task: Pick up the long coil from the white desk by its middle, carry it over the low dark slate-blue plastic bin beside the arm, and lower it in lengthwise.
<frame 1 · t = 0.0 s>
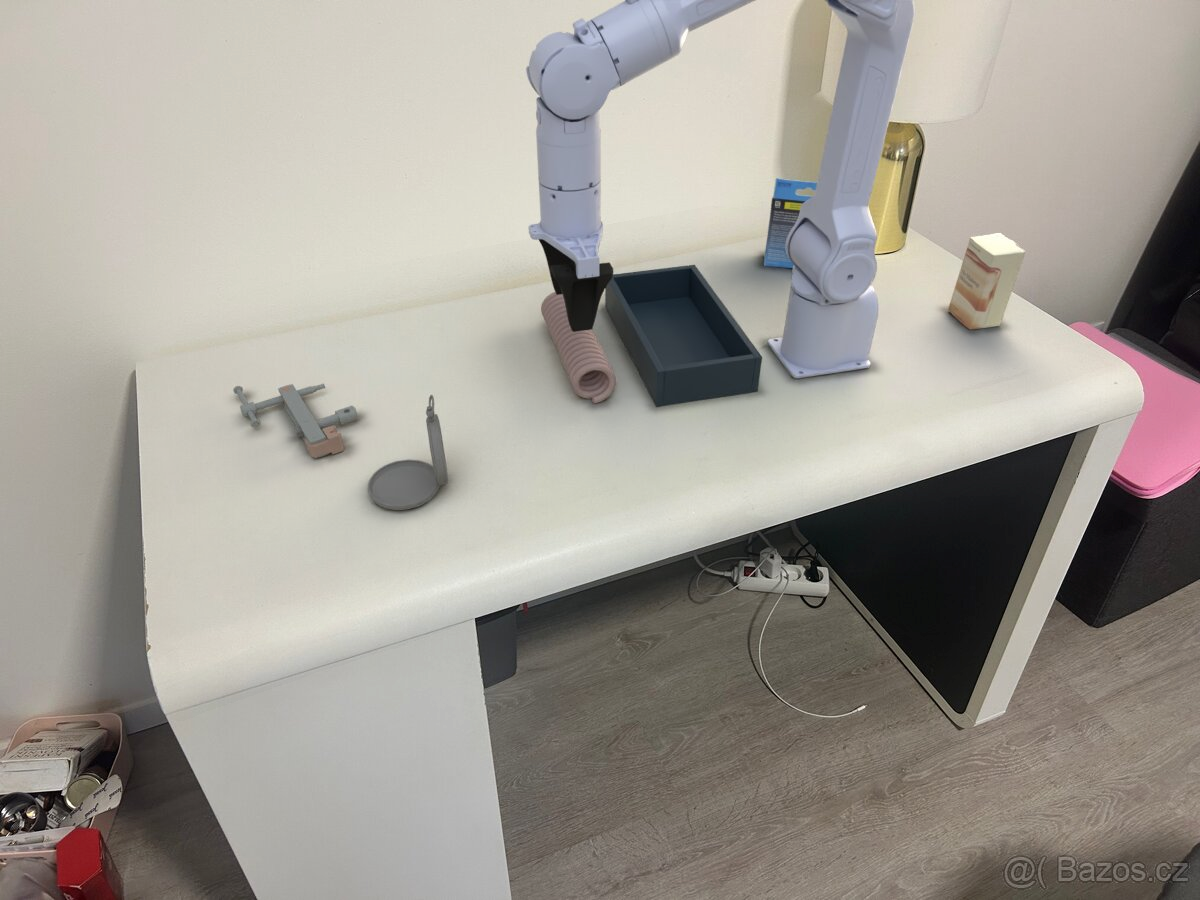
hand: (573, 310, 86), 10 cm above the table, tool pointing down, fingers open, 7 cm apart
clamp: (301, 421, 89), on the table
bin: (675, 346, 100), on the table
pocket watch: (418, 490, 80), on the table
coil: (576, 361, 97), on the table
label tape box: (796, 265, 116), on the table
printed cream carton: (972, 320, 104), on the table
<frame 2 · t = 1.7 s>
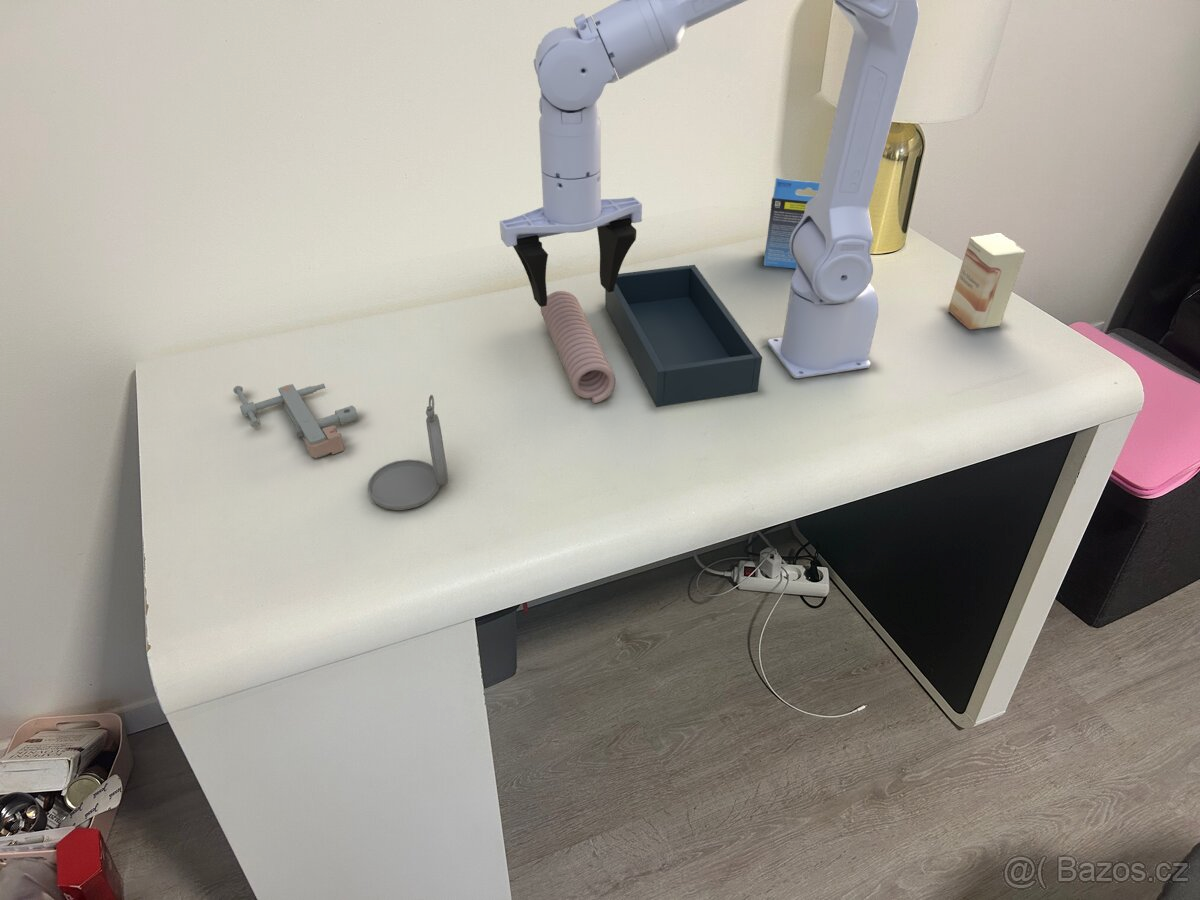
hand: (574, 294, 90), 10 cm above the table, tool pointing down, fingers open, 7 cm apart
nothing on the table moved.
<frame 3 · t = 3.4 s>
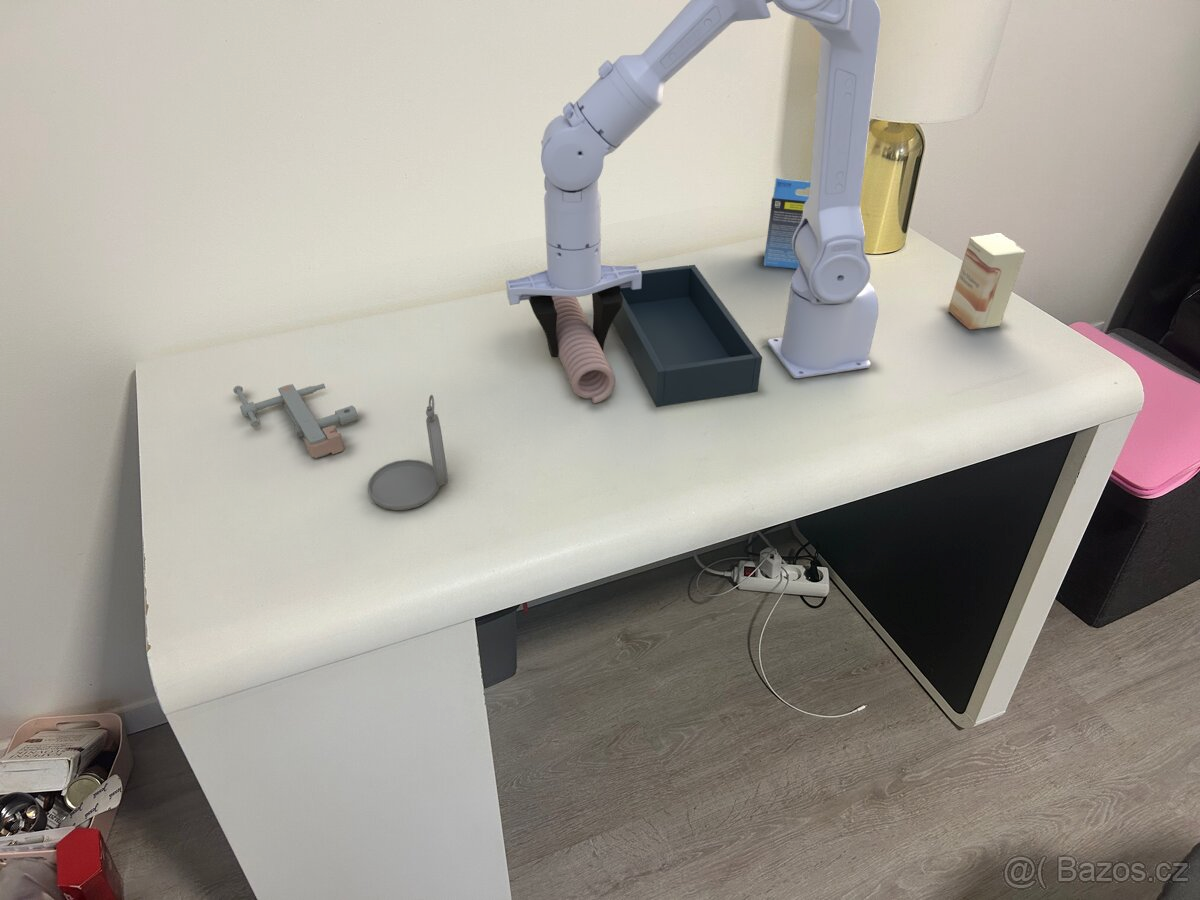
hand: (576, 349, 96), 1 cm above the table, tool pointing down, fingers closed on coil, 5 cm apart
coil: (576, 361, 97), on the table, touching gripper
everything else where it was.
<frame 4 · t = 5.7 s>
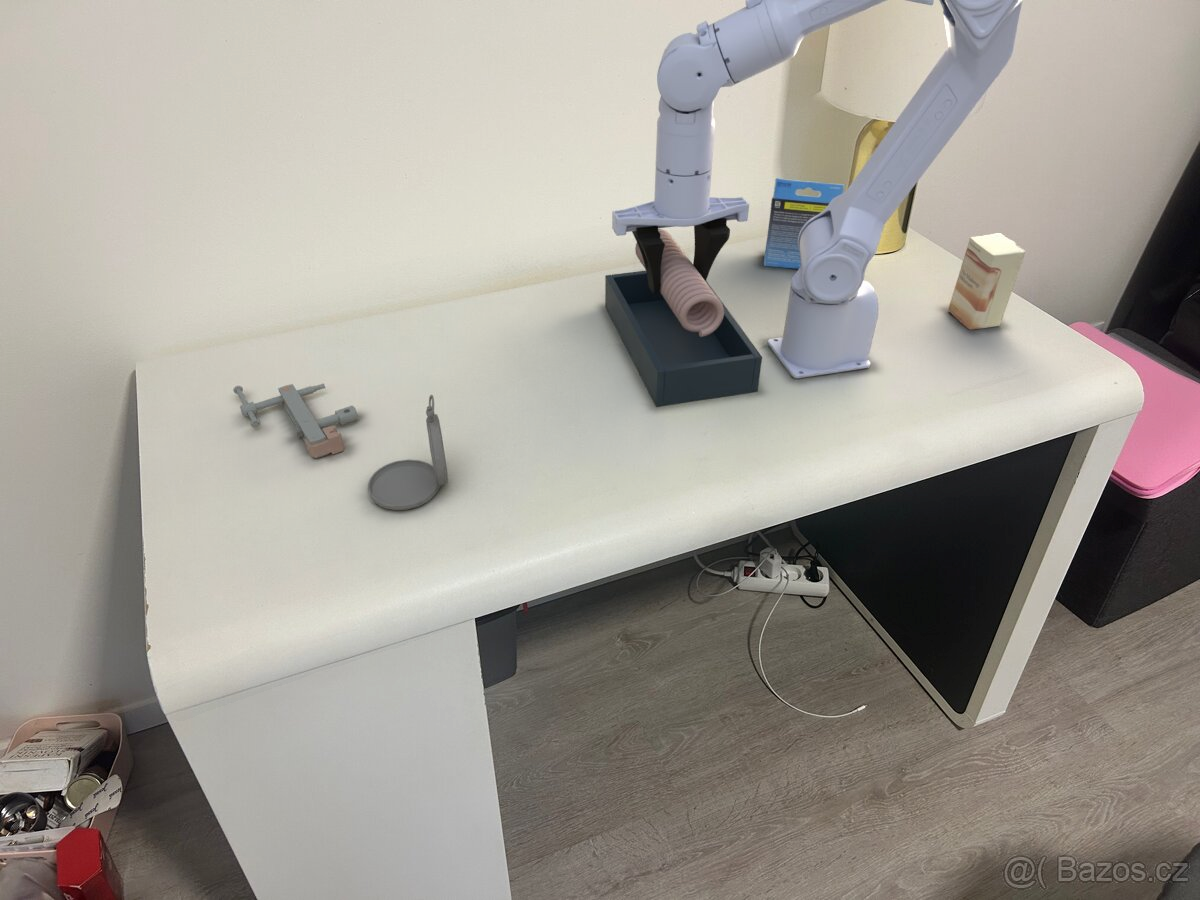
hand: (676, 286, 94), 8 cm above the table, tool pointing down, fingers closed on coil, 4 cm apart
coil: (675, 299, 95), point 6 cm above the table, touching gripper
everything else where it was.
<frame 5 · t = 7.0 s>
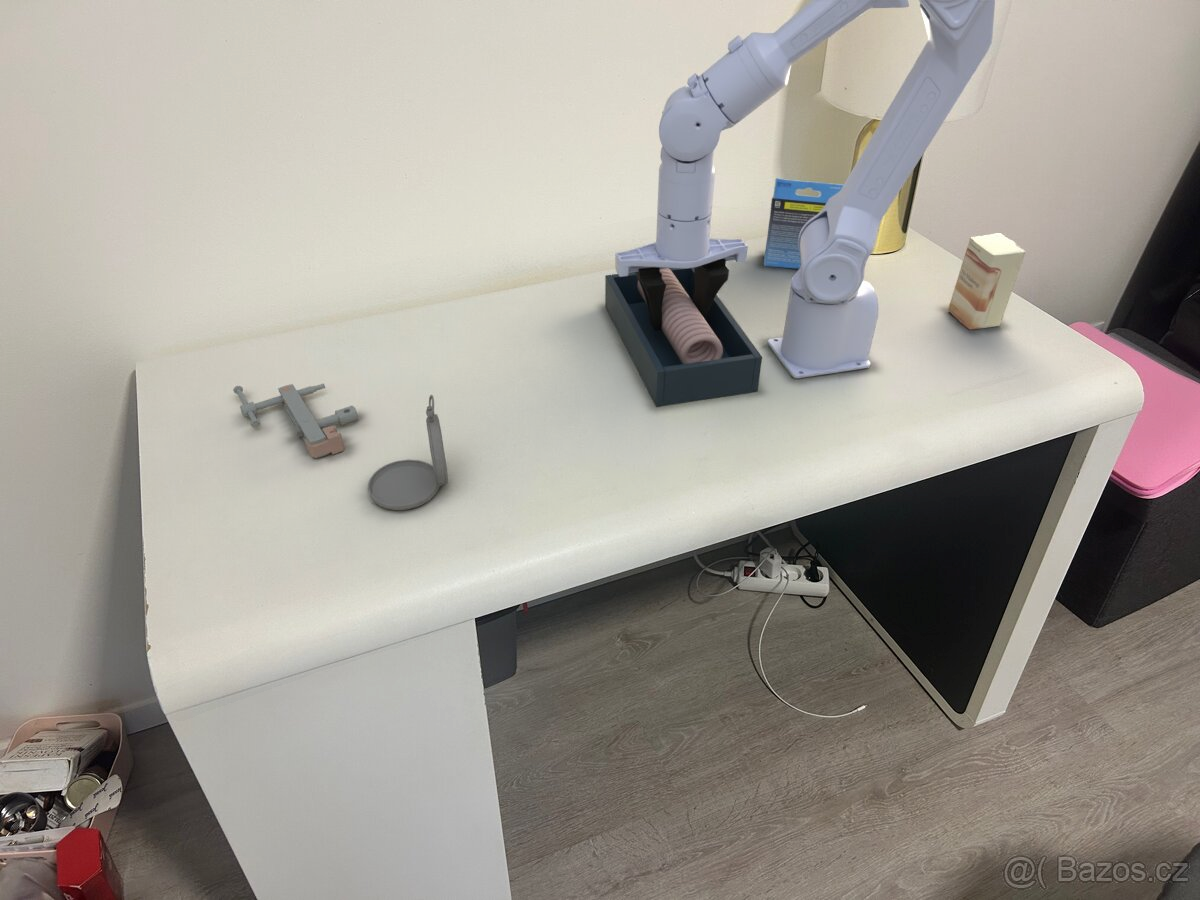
hand: (677, 323, 98), 3 cm above the table, tool pointing down, fingers closed on coil, 4 cm apart
coil: (676, 335, 99), point 2 cm above the table, touching gripper
everything else where it was.
when the fingers open (2 cm above the table, at t = 7.9 s): coil stays where it is, resting on bin.
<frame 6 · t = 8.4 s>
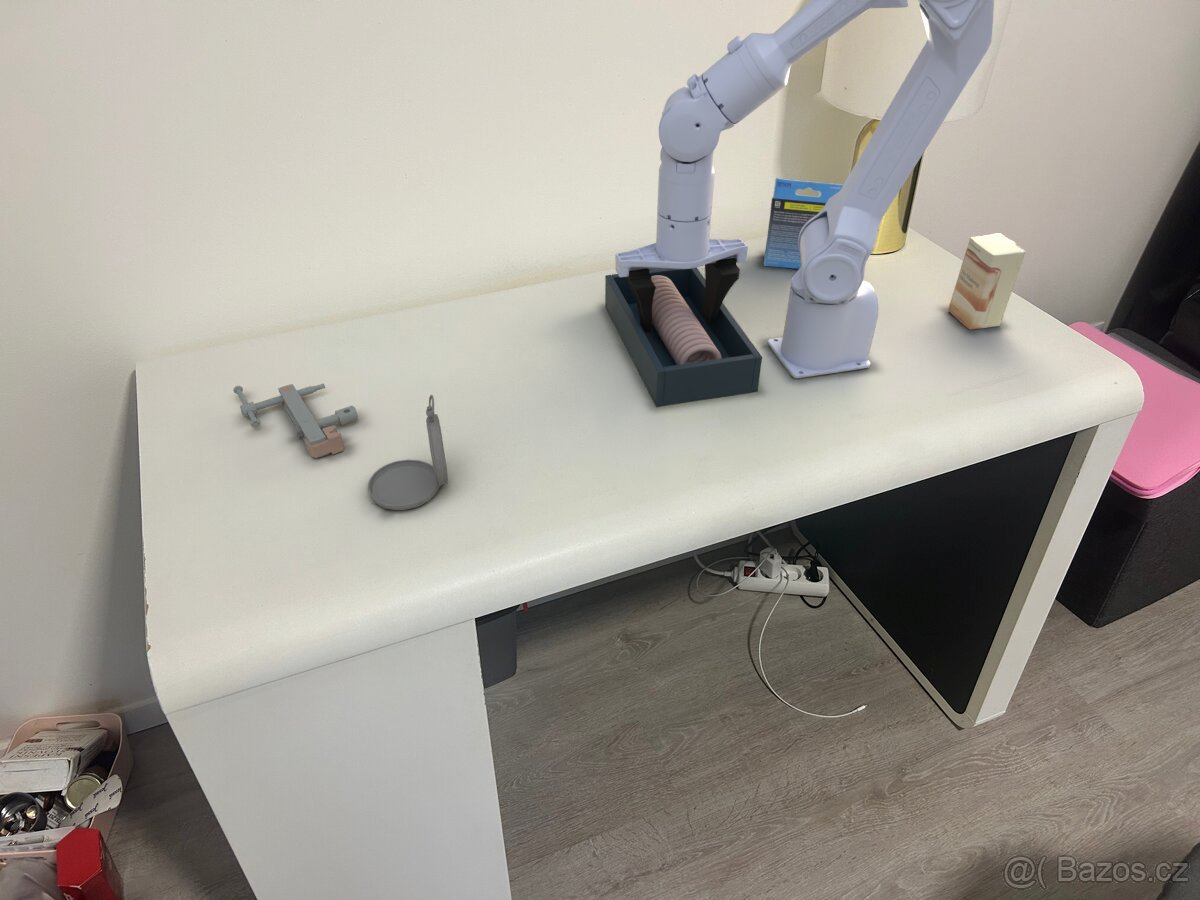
hand: (677, 323, 98), 3 cm above the table, tool pointing down, fingers open, 7 cm apart
coil: (675, 344, 99), resting on bin
everything else where it was.
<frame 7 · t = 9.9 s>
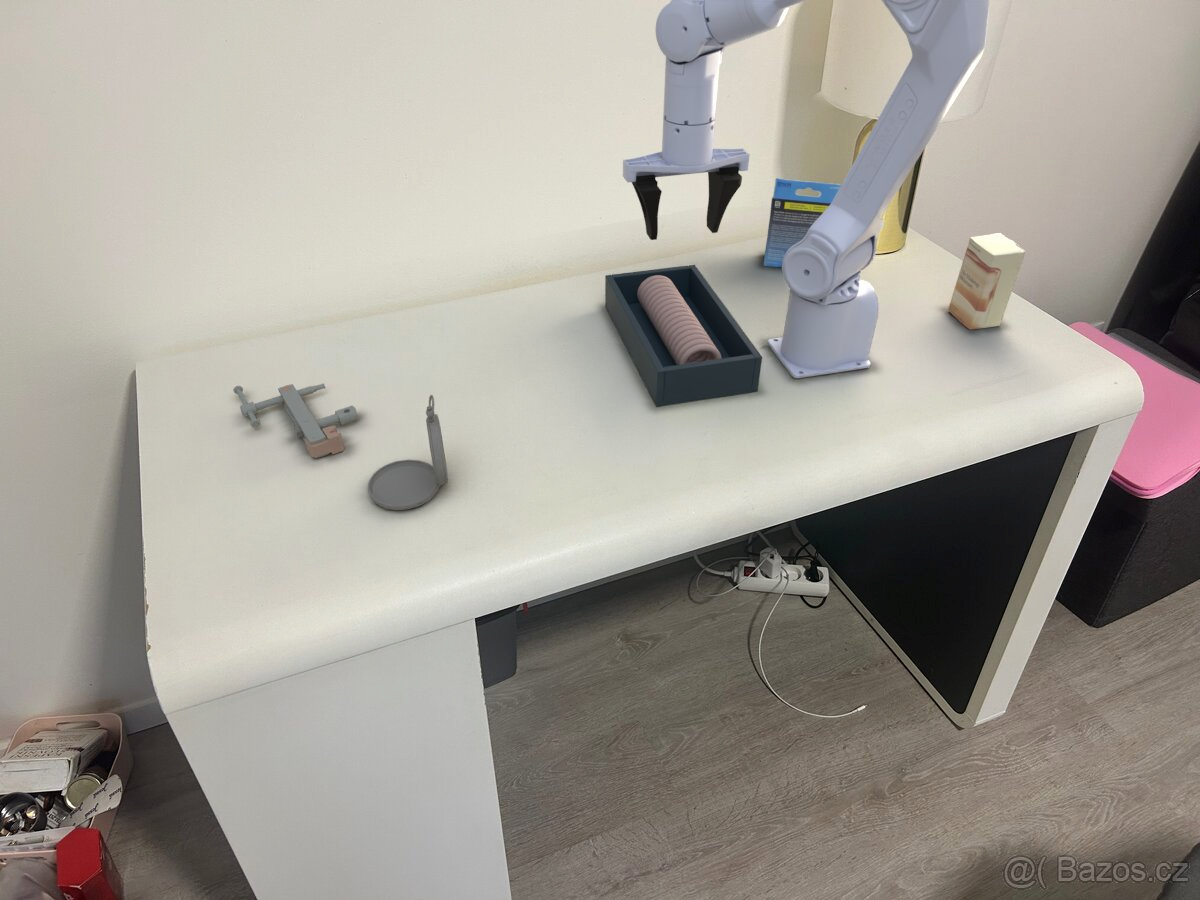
hand: (682, 232, 102), 9 cm above the table, tool pointing down, fingers open, 7 cm apart
nothing on the table moved.
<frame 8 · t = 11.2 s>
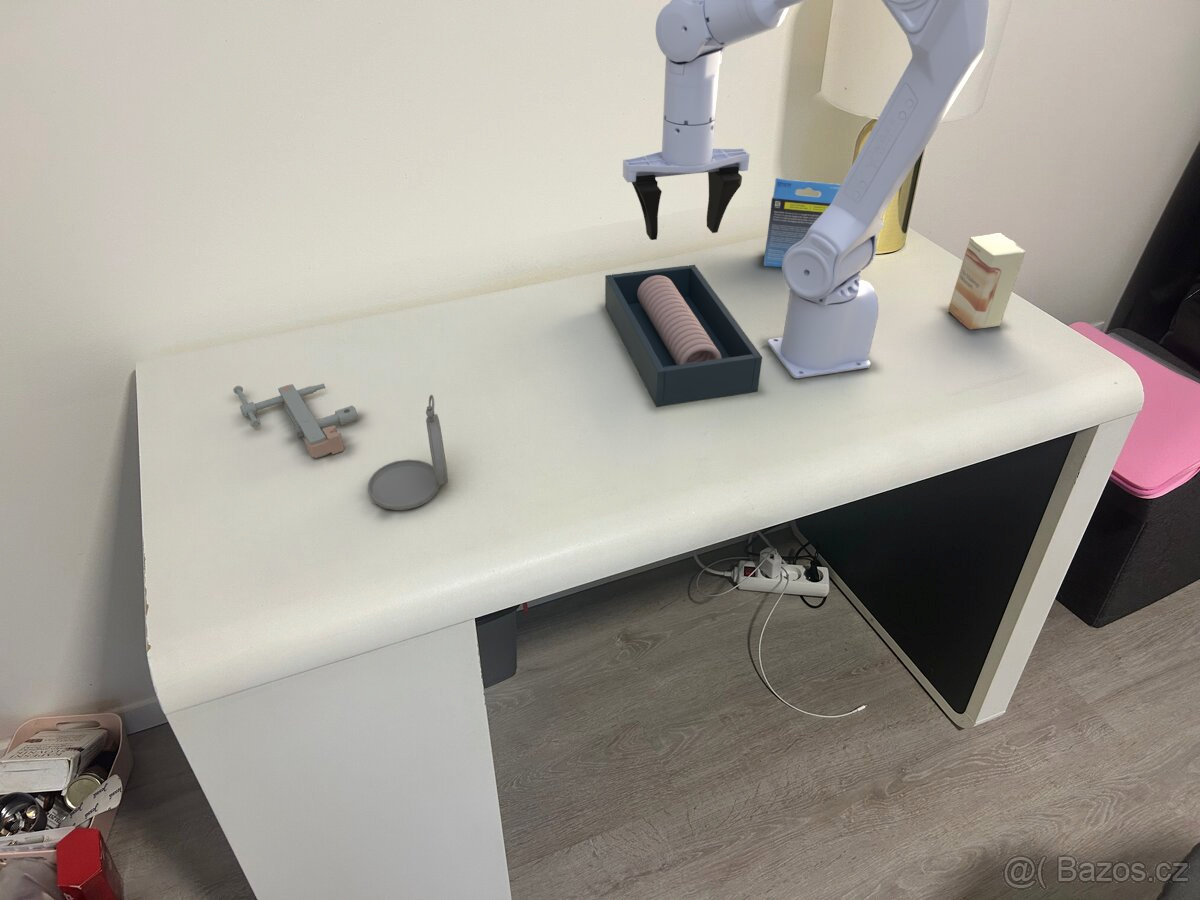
hand: (682, 232, 102), 9 cm above the table, tool pointing down, fingers open, 7 cm apart
nothing on the table moved.
at the end: coil inside the target area in the bin (0.0 cm from its centre), point 0.3 cm above the bin's base; the gripper is holding nothing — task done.
